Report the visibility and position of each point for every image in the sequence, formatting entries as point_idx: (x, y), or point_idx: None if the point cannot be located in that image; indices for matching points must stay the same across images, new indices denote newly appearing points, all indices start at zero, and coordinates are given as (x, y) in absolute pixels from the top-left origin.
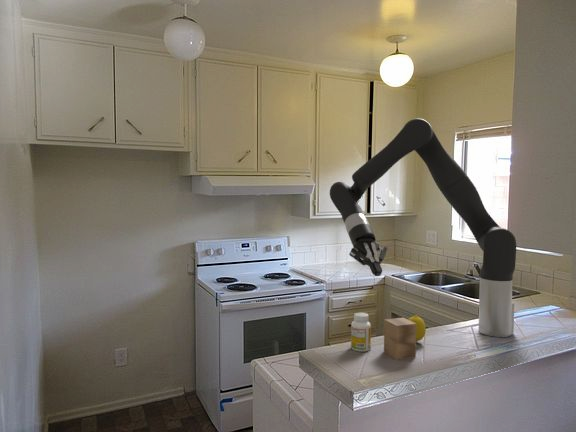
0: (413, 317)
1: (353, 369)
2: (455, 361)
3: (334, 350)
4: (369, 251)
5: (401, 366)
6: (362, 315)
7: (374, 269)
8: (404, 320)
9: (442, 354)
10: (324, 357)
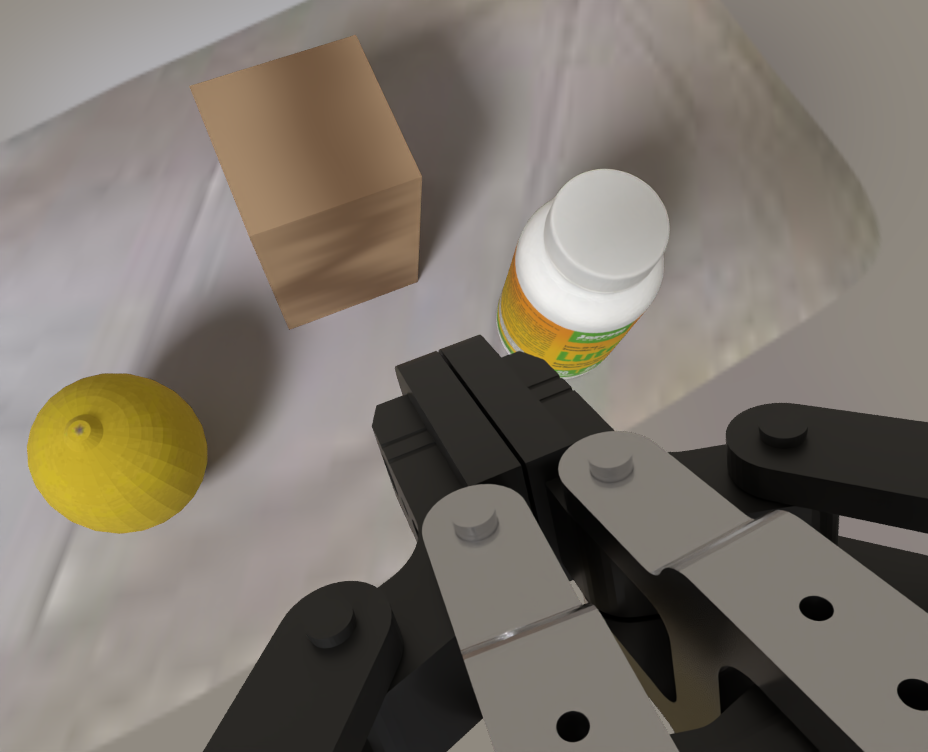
0: (112, 420)
1: (607, 46)
2: (28, 160)
3: (712, 285)
4: (797, 628)
5: None
6: (601, 192)
7: (535, 374)
8: (261, 158)
9: (58, 259)
10: (758, 181)
